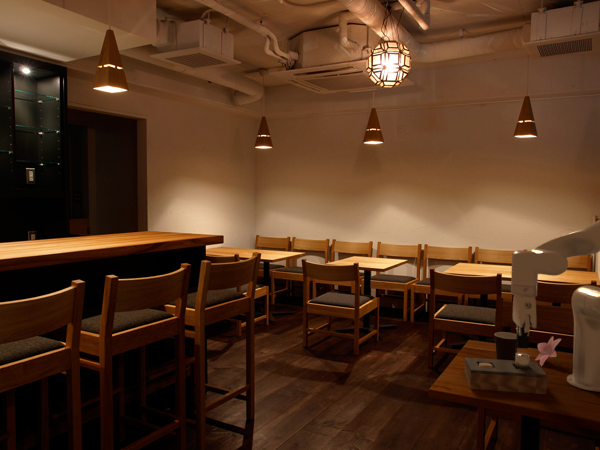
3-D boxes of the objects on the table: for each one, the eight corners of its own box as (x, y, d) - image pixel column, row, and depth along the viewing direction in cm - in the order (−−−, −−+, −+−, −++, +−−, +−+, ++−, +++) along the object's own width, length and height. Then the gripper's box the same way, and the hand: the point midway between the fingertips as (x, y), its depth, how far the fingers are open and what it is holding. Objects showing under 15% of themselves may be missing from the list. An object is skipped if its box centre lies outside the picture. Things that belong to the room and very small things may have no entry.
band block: (534, 379, 156) (535, 361, 156) (546, 394, 145) (546, 374, 144) (464, 375, 160) (464, 357, 160) (470, 388, 149) (470, 369, 148)
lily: (539, 358, 181) (528, 337, 180) (572, 351, 175) (561, 329, 174) (538, 377, 171) (526, 355, 170) (573, 371, 165) (561, 348, 164)
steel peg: (527, 369, 153) (527, 352, 153) (530, 374, 149) (531, 356, 149) (513, 368, 154) (514, 352, 153) (516, 373, 150) (517, 356, 149)
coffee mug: (509, 368, 167) (510, 340, 167) (488, 361, 175) (489, 334, 174) (530, 362, 173) (530, 335, 172) (509, 356, 180) (509, 330, 180)
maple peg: (490, 379, 155) (490, 363, 155) (493, 384, 151) (493, 367, 151) (477, 378, 156) (477, 362, 156) (479, 383, 152) (480, 366, 152)
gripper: (544, 295, 142) (542, 355, 143) (530, 286, 157) (528, 341, 158) (517, 294, 143) (515, 354, 144) (505, 285, 158) (504, 340, 159)
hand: (522, 347), depth 151 cm, fingers closed
